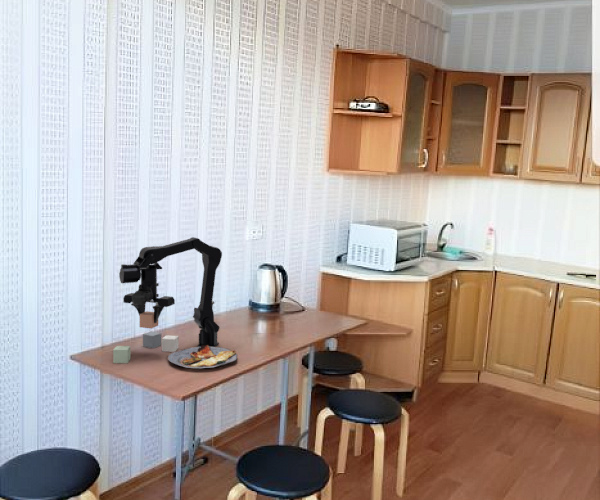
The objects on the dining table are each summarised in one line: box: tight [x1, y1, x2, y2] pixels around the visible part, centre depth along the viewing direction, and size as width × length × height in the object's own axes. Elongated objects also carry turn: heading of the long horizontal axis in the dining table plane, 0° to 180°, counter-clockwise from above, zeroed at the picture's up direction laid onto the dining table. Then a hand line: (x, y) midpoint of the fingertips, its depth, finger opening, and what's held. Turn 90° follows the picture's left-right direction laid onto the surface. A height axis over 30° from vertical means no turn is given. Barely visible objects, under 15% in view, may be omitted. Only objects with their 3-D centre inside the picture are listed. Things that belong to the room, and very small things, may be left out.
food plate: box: [167, 345, 238, 370], centre depth 227 cm, size 25×23×4 cm
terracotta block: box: [139, 310, 159, 329], centre depth 233 cm, size 5×5×5 cm
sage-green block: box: [112, 345, 131, 364], centre depth 224 cm, size 5×5×5 cm
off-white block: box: [161, 334, 179, 353], centre depth 239 cm, size 5×5×5 cm
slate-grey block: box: [142, 330, 162, 349], centre depth 244 cm, size 5×5×5 cm
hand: (149, 322), depth 233 cm, fingers closed on terracotta block, 5 cm apart
